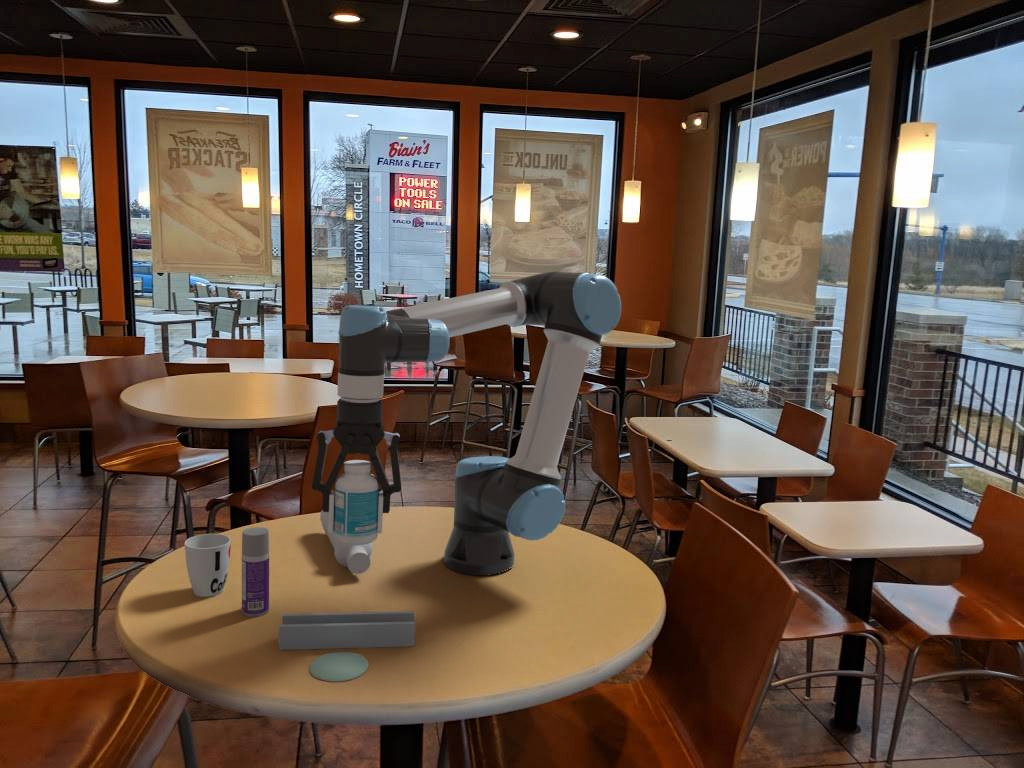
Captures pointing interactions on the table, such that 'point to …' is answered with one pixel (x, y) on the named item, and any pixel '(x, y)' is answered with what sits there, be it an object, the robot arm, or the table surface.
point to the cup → (208, 563)
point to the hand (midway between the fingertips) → (355, 530)
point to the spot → (338, 666)
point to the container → (255, 571)
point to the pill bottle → (356, 504)
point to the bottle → (348, 550)
